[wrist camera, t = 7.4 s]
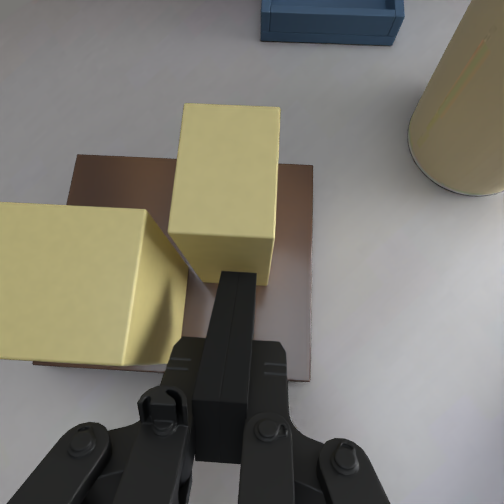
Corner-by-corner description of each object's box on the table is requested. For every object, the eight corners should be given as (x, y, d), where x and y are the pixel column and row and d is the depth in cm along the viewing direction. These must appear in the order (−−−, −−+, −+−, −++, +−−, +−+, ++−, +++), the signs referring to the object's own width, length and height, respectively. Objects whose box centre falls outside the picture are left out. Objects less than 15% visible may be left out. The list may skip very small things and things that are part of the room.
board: (47, 364, 20) (31, 365, 18) (87, 166, 23) (76, 153, 22) (306, 380, 20) (310, 382, 18) (309, 176, 23) (313, 164, 21)
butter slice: (201, 282, 20) (166, 232, 12) (210, 196, 21) (183, 102, 13) (267, 286, 19) (275, 238, 12) (271, 199, 21) (280, 105, 13)
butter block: (64, 356, 19) (-71, 354, 11) (83, 261, 20) (-26, 199, 12) (178, 363, 18) (123, 366, 11) (189, 266, 20) (146, 208, 12)
